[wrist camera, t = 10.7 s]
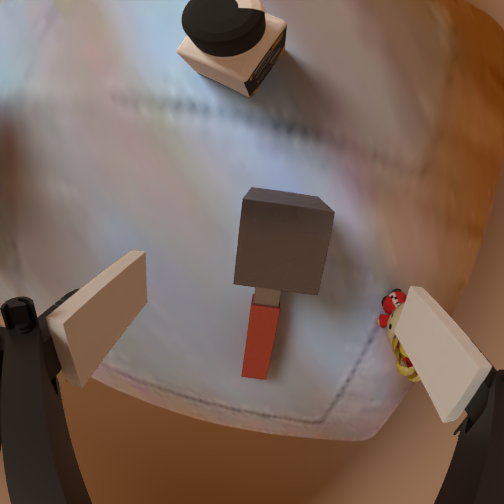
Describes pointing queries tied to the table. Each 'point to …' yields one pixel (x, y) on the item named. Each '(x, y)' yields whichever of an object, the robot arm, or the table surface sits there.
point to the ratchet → (261, 332)
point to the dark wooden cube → (282, 241)
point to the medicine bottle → (232, 41)
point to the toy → (394, 308)
